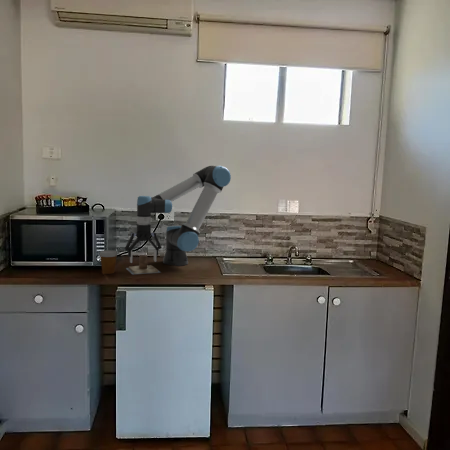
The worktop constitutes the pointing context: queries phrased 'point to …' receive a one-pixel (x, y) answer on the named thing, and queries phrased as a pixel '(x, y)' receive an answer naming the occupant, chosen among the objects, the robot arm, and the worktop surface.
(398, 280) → the worktop surface
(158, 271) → the mat
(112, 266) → the disposable coffee cup
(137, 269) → the lid
